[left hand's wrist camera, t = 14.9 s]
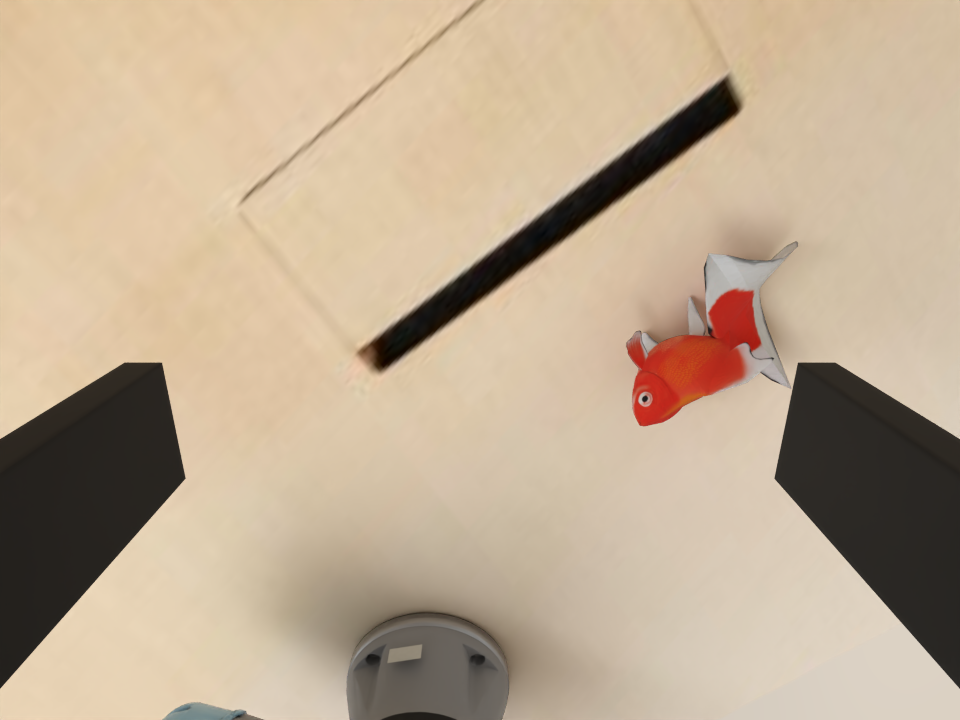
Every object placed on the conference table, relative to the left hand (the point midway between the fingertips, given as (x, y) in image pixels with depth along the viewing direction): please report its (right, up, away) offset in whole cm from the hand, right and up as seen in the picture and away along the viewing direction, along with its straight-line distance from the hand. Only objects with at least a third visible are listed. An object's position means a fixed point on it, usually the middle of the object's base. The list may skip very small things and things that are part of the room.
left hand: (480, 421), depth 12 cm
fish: (+16, +5, +31) cm, 36 cm away
